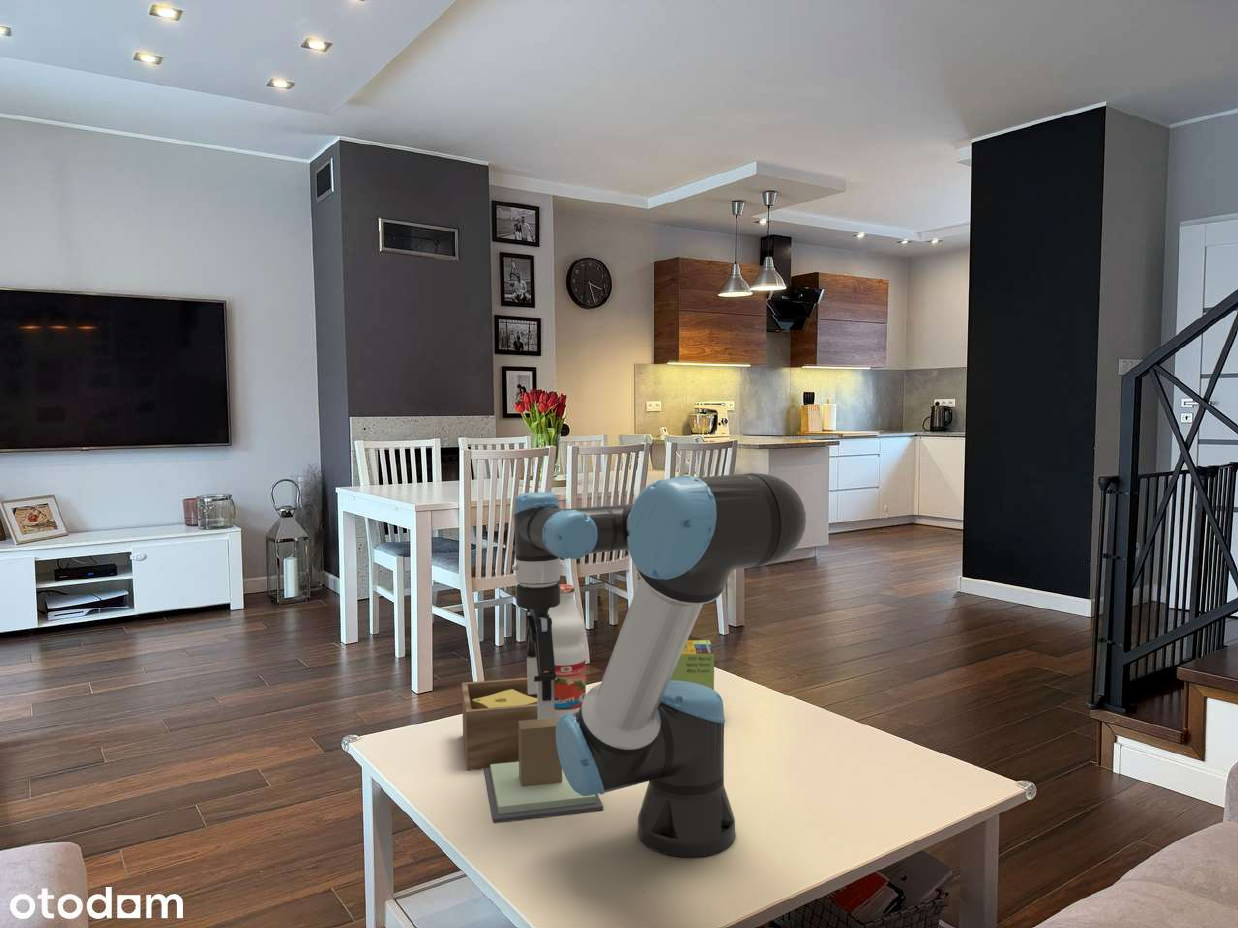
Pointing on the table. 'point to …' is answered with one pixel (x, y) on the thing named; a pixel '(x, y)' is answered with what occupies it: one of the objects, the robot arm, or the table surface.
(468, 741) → the box
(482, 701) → the cheese
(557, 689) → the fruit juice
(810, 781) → the table surface
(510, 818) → the mat
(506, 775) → the lid
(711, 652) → the protein box
